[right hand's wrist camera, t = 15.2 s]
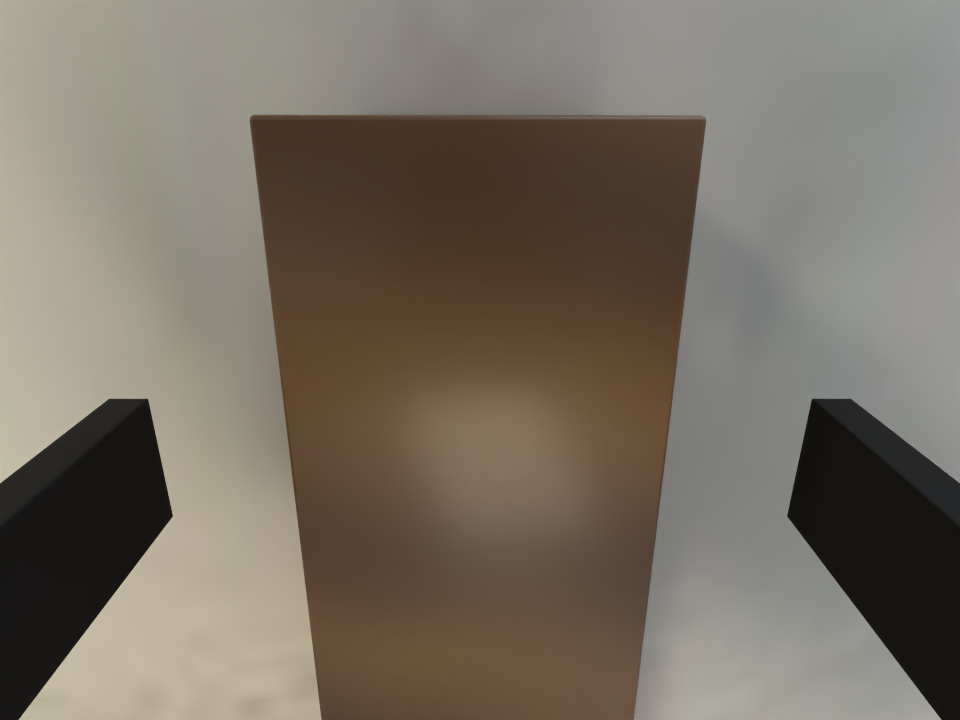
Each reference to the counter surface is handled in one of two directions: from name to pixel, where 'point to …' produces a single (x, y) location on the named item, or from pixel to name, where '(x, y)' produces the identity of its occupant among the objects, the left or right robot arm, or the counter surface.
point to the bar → (477, 398)
